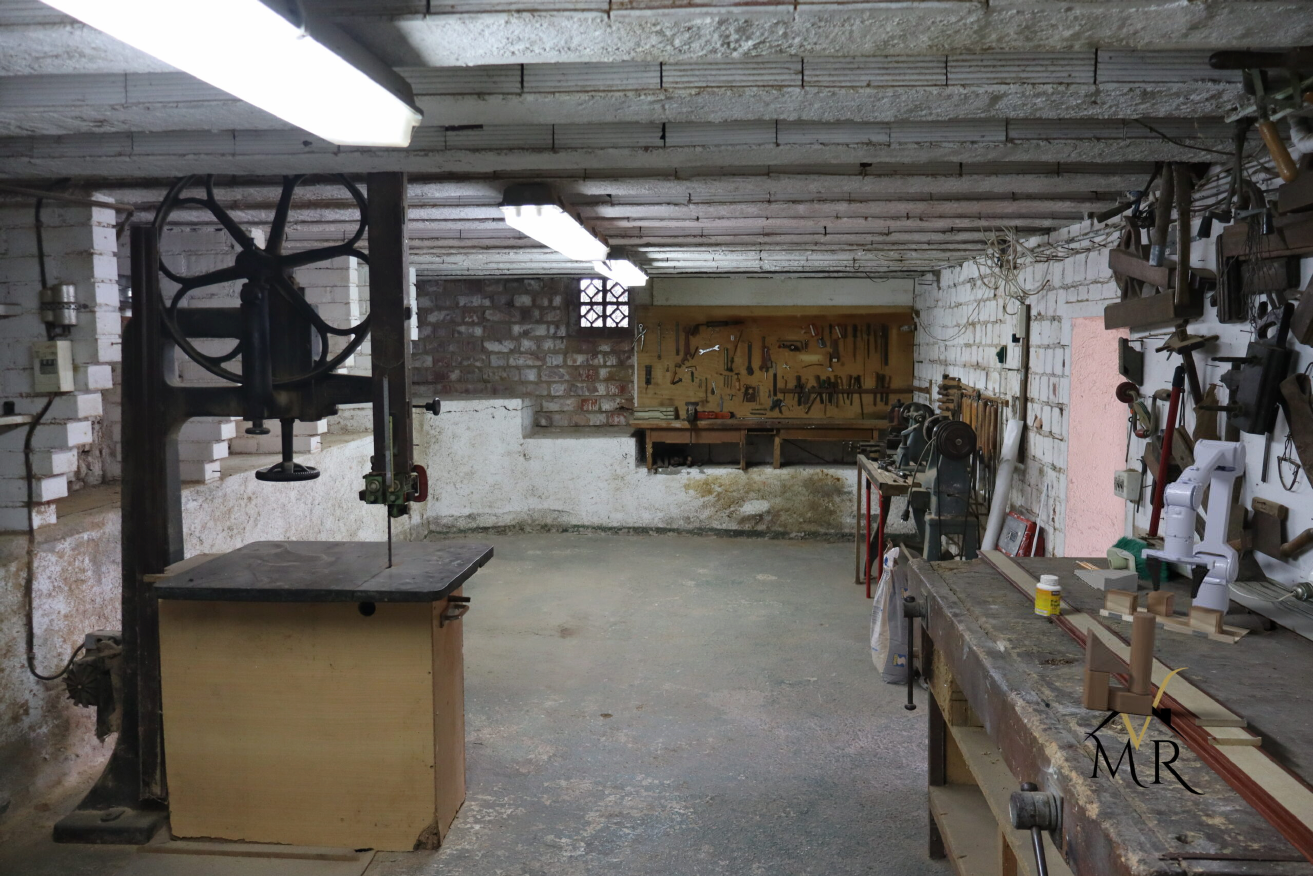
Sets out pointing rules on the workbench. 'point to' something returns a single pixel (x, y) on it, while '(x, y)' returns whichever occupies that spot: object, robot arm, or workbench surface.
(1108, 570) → the ramp
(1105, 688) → the wooden block
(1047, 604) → the supplement bottle
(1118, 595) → the faced block
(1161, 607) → the turned block
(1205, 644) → the workbench surface
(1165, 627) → the long shallow wooden tray
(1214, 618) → the faced block
